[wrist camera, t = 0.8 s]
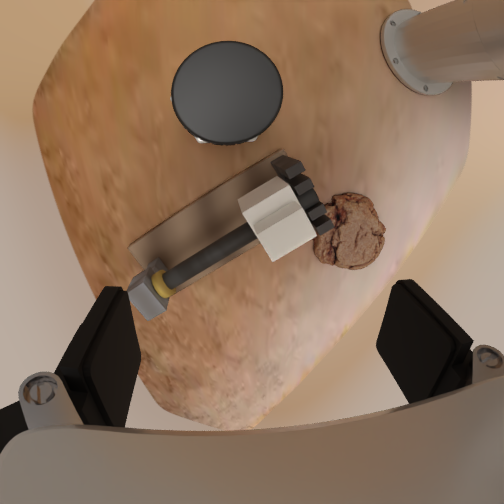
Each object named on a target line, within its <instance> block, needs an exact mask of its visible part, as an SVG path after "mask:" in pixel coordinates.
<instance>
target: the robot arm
mask: <svg viewBox="0 0 504 504" xmlns="http://www.w3.org/2000/svg"><path fill="white" fill-rule="evenodd" d="M381 45H382V50H383V53H384V57H385V59H386V61H387V63H388V65H389V67H390V68H391V70H392V71H393V73H394V74H395V75H396V77H397V78H398V79H399V80H400V81H401V82H402V83H403V84H404V85H405V86H406V87H408V88H410V89H411V90H413V91H415V92H417V93H419V94H423V95H438V94H441V93H443V92H445V91H446V90H447V89H449V88H450V86H451V85H452V83H453V82H462V81H479V80H480V81H481V80H504V0H455V1H452V2H449V3H447V4H444V5H441V6H438V7H436V8H433V9H431V10H428V11H426V12H423V13H421V12H418V11H415V10H411V9H403V10H399V11H396V12H394V13H393V14H391V15H389V16H388V18H387V19H386V20H385V22H384V23H383V25H382V30H381ZM472 343H473V340H472V338H470V336H469V335H468V334H467V333H466V332H465V331H464V330H463V329H462V328H461V327H460V326H459V325H458V324H457V323H456V322H455V321H454V320H453V319H452V318H451V317H450V316H449V315H448V314H447V313H446V312H445V311H444V310H443V309H442V308H441V307H440V306H439V305H438V304H437V303H436V302H435V301H434V300H433V299H432V298H431V297H430V296H429V295H428V294H427V293H426V292H425V291H424V290H423V289H422V288H421V287H420V286H419V285H418V284H417V283H416V282H415V281H414V280H412V279H408V280H398V281H397V282H396V284H395V285H393V286H392V289H391V293H390V296H389V300H388V304H387V308H386V311H385V315H384V318H383V322H382V325H381V329H380V332H379V335H378V338H377V342H376V348H377V350H378V352H379V354H380V356H381V357H382V359H383V360H384V362H385V363H386V365H387V367H388V369H389V370H390V372H391V374H392V375H393V377H394V379H395V380H396V382H397V384H398V385H399V387H400V389H401V390H402V392H403V394H404V396H405V397H406V399H407V401H408V402H409V404H407V405H404V406H400V407H396V408H392V409H388V410H384V411H379V412H374V413H370V414H365V415H360V416H355V417H350V418H345V419H339V420H334V421H327V422H321V423H314V424H306V425H299V426H289V427H279V428H267V429H254V430H234V431H173V430H151V429H136V428H125V423H126V419H127V414H128V410H129V406H130V401H131V398H132V393H133V389H134V385H135V382H136V378H137V374H138V370H139V366H140V363H141V352H140V347H139V343H138V339H137V334H136V330H135V325H134V321H133V316H132V311H131V306H130V300H129V295H128V292H127V291H123V289H122V287H114V286H105V287H104V288H103V290H102V292H101V293H100V295H99V297H98V298H97V300H96V301H95V303H94V305H93V306H92V308H91V310H90V312H89V313H88V315H87V317H86V318H85V320H84V322H83V323H82V324H81V325H80V327H79V329H78V330H77V332H76V333H75V335H74V337H73V339H72V341H71V342H70V344H69V346H68V348H67V350H66V352H65V353H64V355H63V357H62V359H61V361H60V363H59V365H58V367H57V368H56V370H55V372H54V373H51V372H38V373H35V374H33V375H31V376H29V377H28V378H27V379H25V380H24V381H23V383H22V384H21V386H20V388H19V392H18V393H19V400H20V401H17V402H15V403H13V404H11V405H9V406H7V407H4V408H3V409H0V504H504V356H503V354H502V353H501V352H500V351H499V350H497V349H496V348H494V347H491V346H488V345H479V346H477V347H476V348H475V349H474V350H473V352H472V351H471V350H470V347H471V345H472Z"/></svg>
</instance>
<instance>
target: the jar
mask: <svg viewBox="0 0 504 504" xmlns="http://www.w3.org/2000/svg"><path fill="white" fill-rule="evenodd" d="M170 100H171V101H172V105H173V109H174V111H175V114H176V116H177V118H178V119H179V121H180V122H181V124H182V125H183V126H184V128H185V129H187V130H188V132H189V133H191V134H192V135H193V136H194V137H195V138H196V140H197V142H198V143H213V144H215V145H235V144H241V143H244V142H254V141H255V140H256V139H257V137H258V135H260V134H261V133H263V132H264V131H265V130H266V129H267V128H268V127H269V126H270V125H271V124H272V123H273V121H274V120H275V118H276V117H277V115H278V113H279V110H280V108H281V104H282V100H283V85H282V80H281V76H280V74H279V71H278V69H277V68H276V66H275V64H274V63H273V62H272V61H271V59H270V58H269V57H268V56H267V55H266V54H264V53H263V52H262V51H260V50H259V49H257V48H255V47H253V46H251V45H249V44H245V43H242V42H236V41H220V42H214V43H211V44H208V45H205V46H203V47H201V48H199V49H197V50H196V51H194V52H193V53H191V54H190V55H189V56H188V57H187V58H186V59H185V60H184V61H183V62H182V64H181V65H180V66H179V68H178V70H177V72H176V74H175V76H174V79H173V83H172V88H171V97H170Z"/></svg>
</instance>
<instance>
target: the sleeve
mask: <svg viewBox="0 0 504 504" xmlns="http://www.w3.org/2000/svg"><path fill="white" fill-rule="evenodd" d="M238 203H239V206H240V209H241V212H242V214H243V216H244V217H245V219H246V220H247V222H248V224H249V225H250V227H251V228H252V230H253V231H254V233H255V235H256V236H257V238H258V239H259V241H260V243H261V244H262V246H263V247H264V249H265V251H266V252H267V254H268V255H269V257H270V259H271V260H272V262H274V261H275V260H277V259H279V258H281V257H282V256H284V255H286V254H287V253H289V252H291V251H292V250H294V249H296V248H298V247H299V246H301V245H303V244H304V243H306V242H308V241H309V240H311V239H313V238H314V237H316V236H317V235H316V232H315V230H314V228H313V226H312V224H311V223H310V221H309V219H308V217H307V215H306V213H305V211H304V210H303V208H302V207H301V205H300V203H299V201H298V199H297V198H296V196H295V194H294V192H293V190H292V189H291V187H290V185H289V184H288V183H286V182H285V181H284V180H282V179H281V178H279V177H278V176H276V177H274V178H273V179H271V180H269V181H267V182H266V183H264V184H262V185H261V186H259V187H257V188H256V189H254V190H252V191H251V192H249V193H247V194H246V195H244V196H242V197H241V198H239V199H238Z"/></svg>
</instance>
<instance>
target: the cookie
mask: <svg viewBox="0 0 504 504" xmlns="http://www.w3.org/2000/svg"><path fill="white" fill-rule="evenodd" d="M332 200H333V201H332V203H327V204H328V205H325V206H324V207H325V209H326V211H327V213H325V215H326V216H327V217H329V218H330V219H331V221H332V223H333V225H334V228H333V229H331V230H329V231H328V232H326V233H324V234H323V235H321V236H320V235H319V234H318V233H317V232H316V231H315V232H316V235H317V236H316V237H314V238H313V240H314V253H315V255H316V256H317V257H318V258H319V260H320V262H321V263H324V264H325V263H326V264H330V265H332V266H333V265H334V264H335V265H336V266H337V267H340V268H348V269H351V270H357V269H362V268H365V267H367V266H368V265H369V264H371V263H372V262H374V260H375V259H376V258H377V257H378V256H379V254H380V252H381V250H382V248H383V245H384V241H385V238H384V237H383V233H385V231H386V228H385V226H384V225H383V224H382V223H381V222H379V219H378V216H377V212H376V211H375V209H374V208H373V206H374V205H373V203H372V201H371V200H370V199H369V198H367V197H364V196H362V195H359V194H355V193H346V194H344V195H343V194H342V195H334V196H333V197H332Z"/></svg>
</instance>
